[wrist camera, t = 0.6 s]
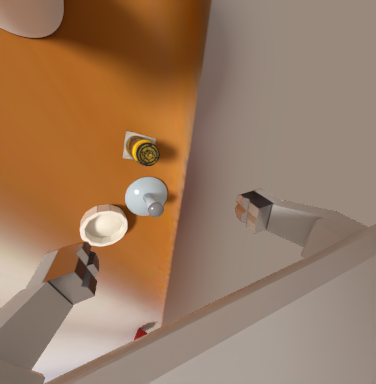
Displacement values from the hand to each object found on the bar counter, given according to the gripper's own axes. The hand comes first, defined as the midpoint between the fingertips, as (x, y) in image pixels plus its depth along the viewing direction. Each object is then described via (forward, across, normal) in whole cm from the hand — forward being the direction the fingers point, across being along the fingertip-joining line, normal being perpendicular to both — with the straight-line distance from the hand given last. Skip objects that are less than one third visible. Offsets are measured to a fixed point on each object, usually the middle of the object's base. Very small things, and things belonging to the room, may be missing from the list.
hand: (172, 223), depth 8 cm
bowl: (+37, +16, +24) cm, 47 cm away
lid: (+40, +2, +21) cm, 45 cm away
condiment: (+40, 0, +5) cm, 41 cm away
